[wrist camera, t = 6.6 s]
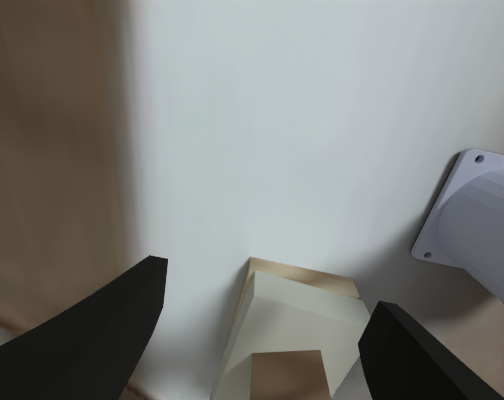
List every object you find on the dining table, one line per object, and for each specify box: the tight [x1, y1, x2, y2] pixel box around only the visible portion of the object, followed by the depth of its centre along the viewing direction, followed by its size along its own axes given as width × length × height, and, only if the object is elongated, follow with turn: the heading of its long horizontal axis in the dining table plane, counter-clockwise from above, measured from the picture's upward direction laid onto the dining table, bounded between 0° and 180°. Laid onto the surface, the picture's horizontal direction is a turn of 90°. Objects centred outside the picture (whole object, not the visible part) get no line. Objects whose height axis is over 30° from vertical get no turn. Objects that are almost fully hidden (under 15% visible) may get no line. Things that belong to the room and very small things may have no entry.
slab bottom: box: [228, 257, 360, 341], centre depth 22 cm, size 8×12×2 cm, turn 167°
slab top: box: [210, 270, 371, 400], centre depth 19 cm, size 8×12×2 cm, turn 163°
